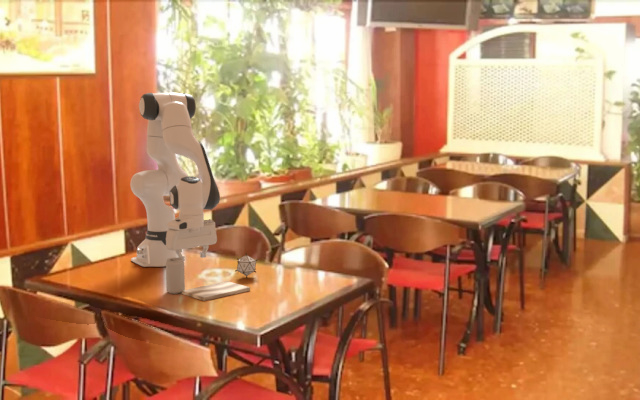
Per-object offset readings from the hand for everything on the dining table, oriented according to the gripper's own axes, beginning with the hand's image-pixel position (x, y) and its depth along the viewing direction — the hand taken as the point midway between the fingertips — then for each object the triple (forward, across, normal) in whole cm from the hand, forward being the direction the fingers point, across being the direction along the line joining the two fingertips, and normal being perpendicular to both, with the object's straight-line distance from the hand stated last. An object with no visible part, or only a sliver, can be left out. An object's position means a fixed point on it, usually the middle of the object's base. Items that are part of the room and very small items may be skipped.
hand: (192, 259), depth 279 cm
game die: (+10, -21, +5) cm, 24 cm away
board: (+10, 0, +14) cm, 17 cm away
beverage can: (+10, +10, +4) cm, 15 cm away
